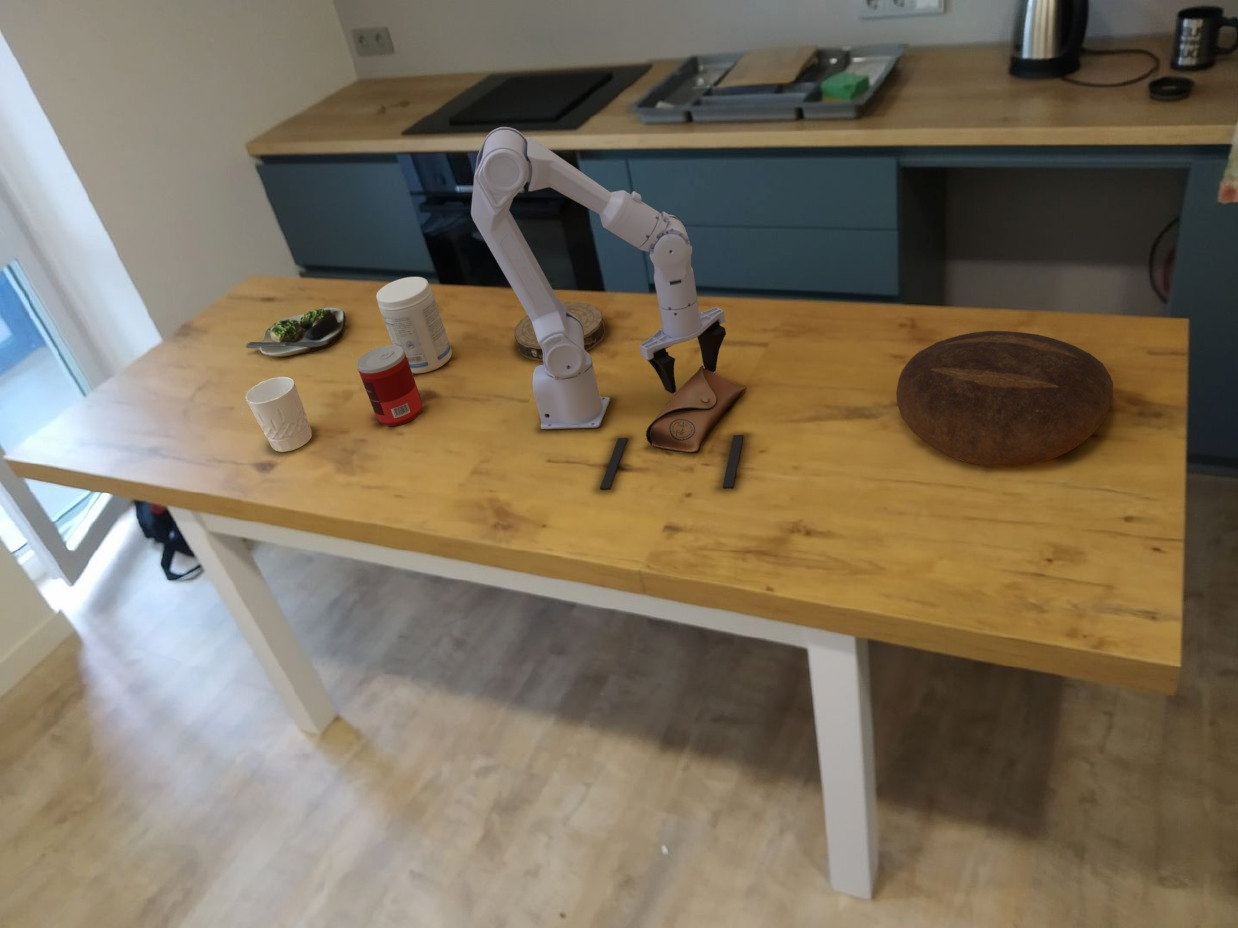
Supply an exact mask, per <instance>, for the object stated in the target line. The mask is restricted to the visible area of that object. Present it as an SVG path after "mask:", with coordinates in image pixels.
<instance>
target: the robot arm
mask: <svg viewBox="0 0 1238 928" xmlns="http://www.w3.org/2000/svg"><path fill="white" fill-rule="evenodd" d="M526 183H528V187H527V188H528V189H527V192H534V191H538V190H543V189H547V188H551V189H553V190H555V191H556V192H558V193H560V194H562V195H563V196H565V197H567V198H569V199H570V200H572V201H575V202H576V203H578V204H580V205H582V206H583V207H585V208H587V209H589V210H591V211H592V212H594V213H596V214H598V215H599V218H600V223H601V226H602V228H603V229H606V230H607V231H608V232H611V233H612V234H614V235H615V236H617V237H618V238H620V239H622V240H623V241H625V242H626V243H628V244H630V245H631V246H633V247H635V248H636V249H638V250H640V251H643V252H647V253H649V259H650V261H651V263H652V264H653V269H654V272H653V281H654V287H655V292H656V297H657V303H658V309H659V315H660V321H661V328H660V329H658V330H657V331H656V332H655V333H654V334H652V335H651V337H649V338H648V339H647V340H645V341H644V342H642V343H640V344H639V345H638V347H639V352H640V357H642V358H643V359H645V360H646V361H647V362H648V363H649V364H650V365H651V367H652V368H653V370H654V371H655V372H656V374H657V375H658V377H659V379H660V381H661V383H662V386H663V388H664V390H665V391H667V392H668V393H669V394H672V395H673V394H675V393H677V384H676V377H675V363H676V358H675V357H673V356H671V355H670V354H669V352H668V351H667V349H669V348H672V347H673V346H675V345H678V344H682V343H685V342H689V341H692V340H694V339H697V341H698V344H699V349H700V353H701V359H702V365H703V368H705V369H707V370H709V371H711V372H713V373H716V371H717V364H718V358H719V352H720V349H721V347H722V343H723V341H724V339H725V337H726V335H727V331H726V327H724V326H722V325H721V324H724V323H726V315H725V310H723V309H721V308H719V307H717V306H714V307H713V308H710V309H707V310H705V311H701V312H700V308H699V301H698V294H697V293H698V292H697V287H696V280H695V273H694V269H693V267H692V256H693V255H692V254H693V246H692V245H691V242H690V238H689V236H688V233H687V230H686V227H685V226H684V224H683V222H682V221H681V220H680V219H678V217H677V216H676V215H673V214H669V213H667V212H666V211H662V212H660V211H658V210H656V209H655V208H653V207H651V206H650V205H648V204H647V203H645V201H642V200H643V199H642V195H641V194H639V193H638V192H637V191H635V190H634V191H632V192H631V193H629V192H628V191H626V190H623V189H621V190H617V191H609V190H608V189H606V187H603V186H602V185H601V184H599V183H598V182H596V181H595V180H594V179H592V178H591V177H589V176H588V175H586V174H584V173H583V172H582V171H580V170H579V169H577V167H575V166H574V165H572V164H570V163H569V162H568V161H566V160H565V159H563V158H562V157H560V156H559V155H557V154H556V153H555V152H553V151H552V150H550V149H549V148H548V147H546V146H544V145H543V144H542V143H540V141H538V140H536V139H534V138H532V137H530V136H528V137H527V138H526V137H525V135H524V134H522V132H520V130H517V129H515V128H513V127H509V126H500V127H497V128H495V129H493V130H491V131H490V132H489V133H488V134H487V135H486V137H485V139H484V141H483V143H482V144H481V147H480V149H479V151H478V154H477V157H476V164H475V170H474V176H473V186H472V197H471V209H470V215H471V218H472V221H473V222H474V224H475V226H476V228H477V230H478V231H479V232H480V234H481V237H482V238H483V240H484V242H485V243H486V245H487V247H488V249H489V250H490V252H491V254H492V255H493V257H494V259H495V261H496V263H497V264H498V266H499V268H500V269H501V271H502V273H503V275H504V276H505V278H506V280H507V282H508V283H509V285H510V287H511V289H512V290H513V292H514V294H515V295H516V297H517V299H518V301H519V302H520V304H521V306H522V308H523V309H524V311H525V313H526V316H527V315H528V316H529V318H530V320H531V321H532V324H533V327H534V331H535V334H536V337H537V340H538V343H539V345H540V346H541V348H542V351H543V361H542V363H543V364H540V365H537V366H535V368H534V370H533V374H532V393H533V396H534V400H535V404H536V408H537V411H538V415H539V418H540V422H541V424H540V429H541V430H558V429H591V428H592V429H595V428H599V427H600V426H601V423H602V421H603V419H604V416H605V414H606V411H607V409H608V407H609V404H610V402H611V398H610V397H609V396H601V394H600V388H599V385H598V380H597V376H596V371H595V367H594V362H593V359H592V356H591V354H590V353H589V352H588V351H585V350H584V338H583V337H584V328H583V325H582V323H581V321H580V320H579V319H578V318H577V317H575V316H574V315H572V314H571V313H570V312H569V311H568V310H567V308H566V307H565V305H564V303H565V302H562V301H561V300H560V299H559V298H558V296H557V295H556V293H555V291H554V289H553V288H552V287H553V286H552V285H551V284H550V282H549V280H548V278H547V276H546V274H545V273H544V271H543V270H542V268H541V266H540V264H539V261H538V260H537V259H536V258H537V257H536V256H535V255H534V253H533V252H532V249H531V247H530V246H529V244H528V242H527V240H526V238H525V237H524V235H523V232H522V231H521V230H520V227H519V225H518V224H517V222H516V220H515V218H514V216H513V215H512V212H511V211H510V209H511V205H512V203H513V200H514V198H515V197H516V196H517V195H518V194H519V193H520V192H521V190H523V188H524V187H525V185H526Z"/></svg>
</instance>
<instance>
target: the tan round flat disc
mask: <svg viewBox="0 0 1238 928" xmlns="http://www.w3.org/2000/svg"><path fill="white" fill-rule="evenodd" d="M563 303H564V305H565V307H566V308H567V310H568V311H569V312H570V313H571V314H572V315H574V316H575V317H577V318H578V319H579V320H580V321H581V323H582V325H583V328H584V337H583V338H584V350H585V351H586V352H588V351H589V350H592V349H593V348H594V347H596V346H597V345H598V344H599V343H600V342H601V341H602V340H603V339H604V336H605V334H606V327H605V323H604V318H603V317H604V316H603V313H602V311H601V310H600V309H599V307H598V306H595V305H593V304H591V303H587V302H580V301H572V302H571V301H569V302H568V301H567V302H563ZM513 335H514V336H513V337H514V340H515V343H516V347H517V350H518V351H519V353H520V354H521V356H523V357H525V358H527V359H528V360H533V361H537V362H543V351H542V348H541V346H540V345H539V343H538V340H537V337H536V334H535V331H534V327H533V324H532V321H531V320H530V318H529V316H528V315H527V314H526V316H523V318H521V320H519V321H518V322H517V324H516V326H515V327H514V332H513Z"/></svg>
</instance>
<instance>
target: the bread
mask: <svg viewBox="0 0 1238 928" xmlns="http://www.w3.org/2000/svg"><path fill="white" fill-rule="evenodd" d="M896 386H897V387H896V403H897V407H898V409H899V412H900V415H901V417H902V419H903V421H904V422H905V424H906V425H907V427H908V428H909V430H911V432H912V433H913V434H914V435H915V436H917V437H918V438H919V439H920V440H922V442H924V443H925V444H928V445H929V446H931V447H932V448H934V449H936V450H937V451H939V452H941V453H943V454H945V455H947V456H949V457H951V458H955V459H957V460H960V461H963V462H966V463H970V464H975V465H976V464H977V465H982V466H987V467H998V466H999V467H1008V466H1009V467H1011V466H1020V465H1027V464H1028V465H1029V464H1034V463H1041V462H1046V461H1049V460H1051V459H1055V458H1058V457H1060V456H1062V455H1064V454H1067V453H1069V452H1071V451H1072V450H1073V449H1075V448H1076V447H1078V446H1080V445H1081V444H1083V443H1084V442H1085V441H1087V440H1088V439H1089V438H1090V437H1092V435H1093V434H1094V433H1095V432H1097V430H1098V429H1099V428H1100V426H1101V424H1102V423H1103V421H1104V419H1105V418H1106V416H1107V414H1108V412H1109V408H1110V406H1111V404H1112V401H1113V398H1114V382H1113V379H1112V376H1111V374H1110V372H1109V371H1108V370H1107V368H1106V366H1105V364H1104V363H1103V362H1101V361H1100V360H1099V359H1098V358H1097V357H1095V356H1094V355H1092V354H1091V353H1089V352H1088V351H1085V350H1084V349H1082V348H1080V347H1078V346H1076V345H1074V344H1071V343H1068V342H1065V341H1062V340H1060V339H1056V338H1053V337H1049V336H1045V335H1042V334H1037V333H1028V332H1019V331H1009V330H1008V331H1007V330H1006V331H1005V330H985V331H974V332H969V333H964V334H963V333H962V334H958V335H955V336H952V337H948V338H945V339H943V340H940V341H937V342H935V343H933V344H931V345H929V346H927V347H925V348H923V349H922V350H920V351H918V352H917V353H916V354H914V355H913V356H912V357H911V358H910V359H909V360H908V361H907V363H906V364H905V366H904V367H903V368H902V370H901V372H900V375H899V376H898V381H897V385H896Z"/></svg>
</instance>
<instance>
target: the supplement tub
mask: <svg viewBox="0 0 1238 928" xmlns="http://www.w3.org/2000/svg"><path fill="white" fill-rule="evenodd" d="M375 298H376V301H377V306H378V309H379V311H380V315H381V317H382V319H383V322H384V325H385V327H386V331H387V333H388V335H389V338H390V341H391V343H392V344H391V345H397V346H400V347H402V348H403V350H404V351H405V354H406V357H407V359H408V362H409V365H410V368H411V371H412V374H424V373H429V372H432V371H435V370H437V369H439V368H441V367H442V366H443V365H445V364H446V363H448V361H449V360H450V359H451V358H452V355H453V354H452V353H453V350H452V347H451V342H450V340H449V337H448V333H447V332H446V328H445V325H444V322H443V320H442V319H443V318H442V317H441V313H440V310H439V308H438V304H437V302H436V299H435V295H434V293H433V289H432V288H431V286H430V283H429V282H428V280H427V279H426V278H424V277H422V276H407V277H403V278H399V279H396V280H394V281H391V282H389V283H387V284H385V285H384V286H383V287H381V288H380V289H378V291H377V293H376V296H375Z"/></svg>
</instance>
